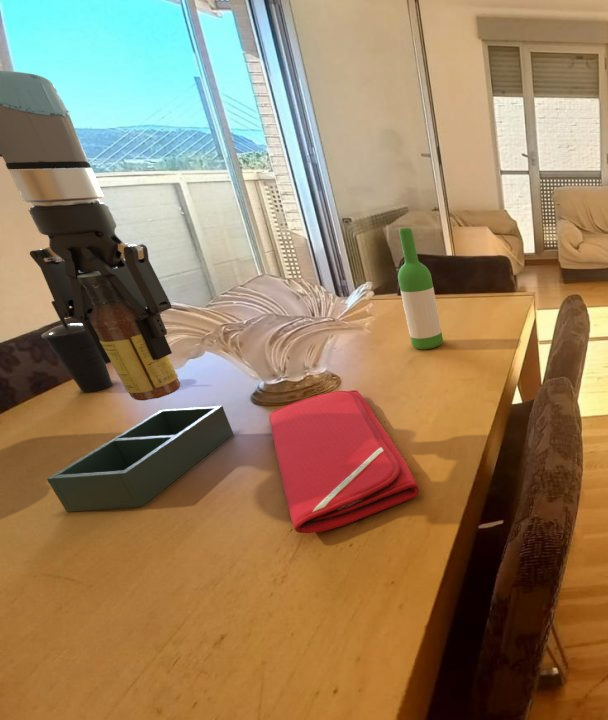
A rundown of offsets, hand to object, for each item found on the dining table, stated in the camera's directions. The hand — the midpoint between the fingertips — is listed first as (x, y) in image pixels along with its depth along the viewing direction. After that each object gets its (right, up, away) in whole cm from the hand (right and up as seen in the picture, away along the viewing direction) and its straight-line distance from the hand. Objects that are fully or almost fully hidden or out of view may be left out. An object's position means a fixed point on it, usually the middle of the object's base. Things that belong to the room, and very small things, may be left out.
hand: (139, 357), depth 74 cm
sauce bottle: (0, -6, +3) cm, 7 cm away
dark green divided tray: (+1, -18, +3) cm, 18 cm away
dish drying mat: (+28, -16, +5) cm, 33 cm away
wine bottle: (+24, +3, +51) cm, 57 cm away
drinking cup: (-42, -7, +32) cm, 53 cm away
